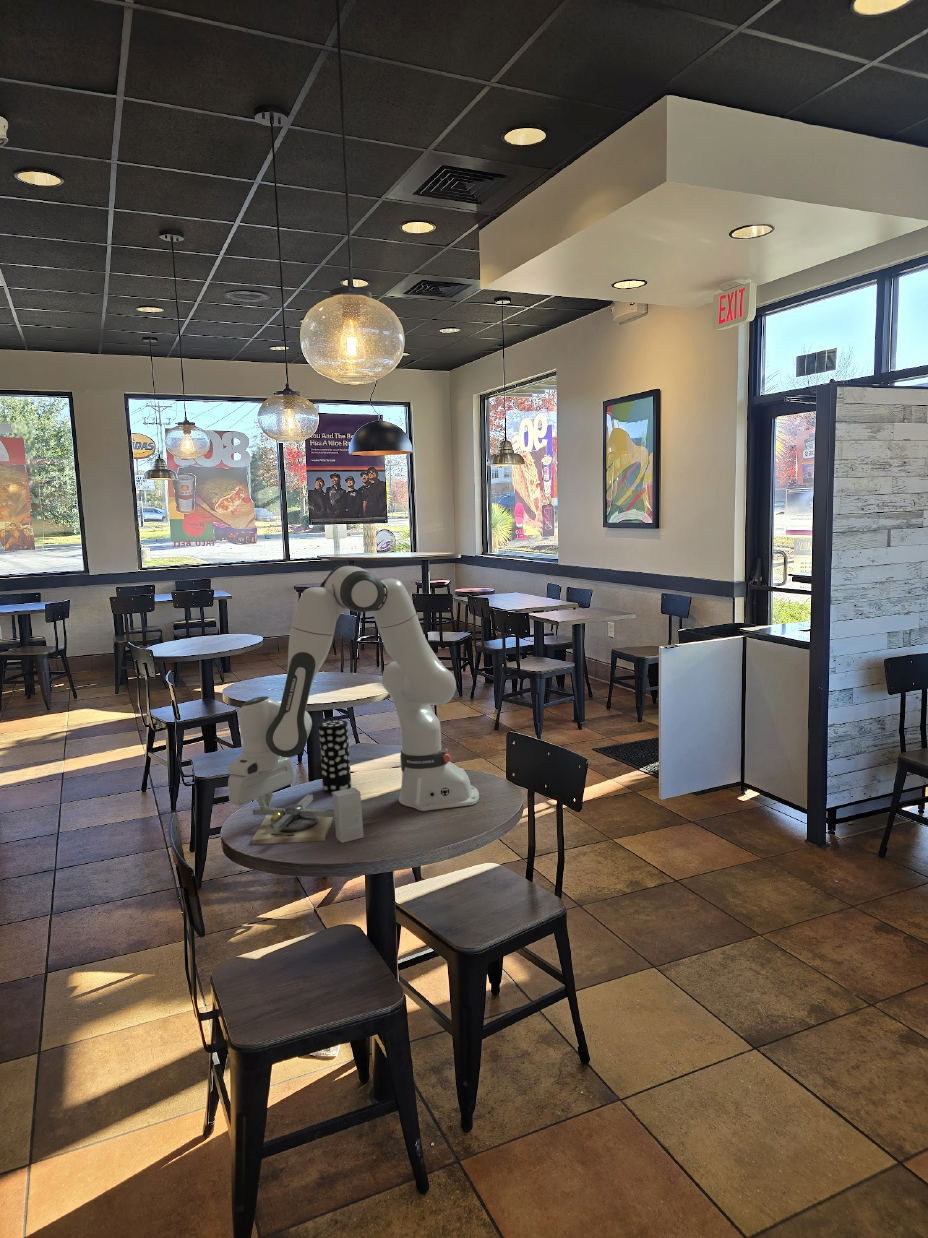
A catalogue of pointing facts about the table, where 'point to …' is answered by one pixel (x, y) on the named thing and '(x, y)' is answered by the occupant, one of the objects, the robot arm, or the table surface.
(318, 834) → the beige base plate
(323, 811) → the capstan
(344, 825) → the skincare box
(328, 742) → the spotted tube
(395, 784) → the table surface
